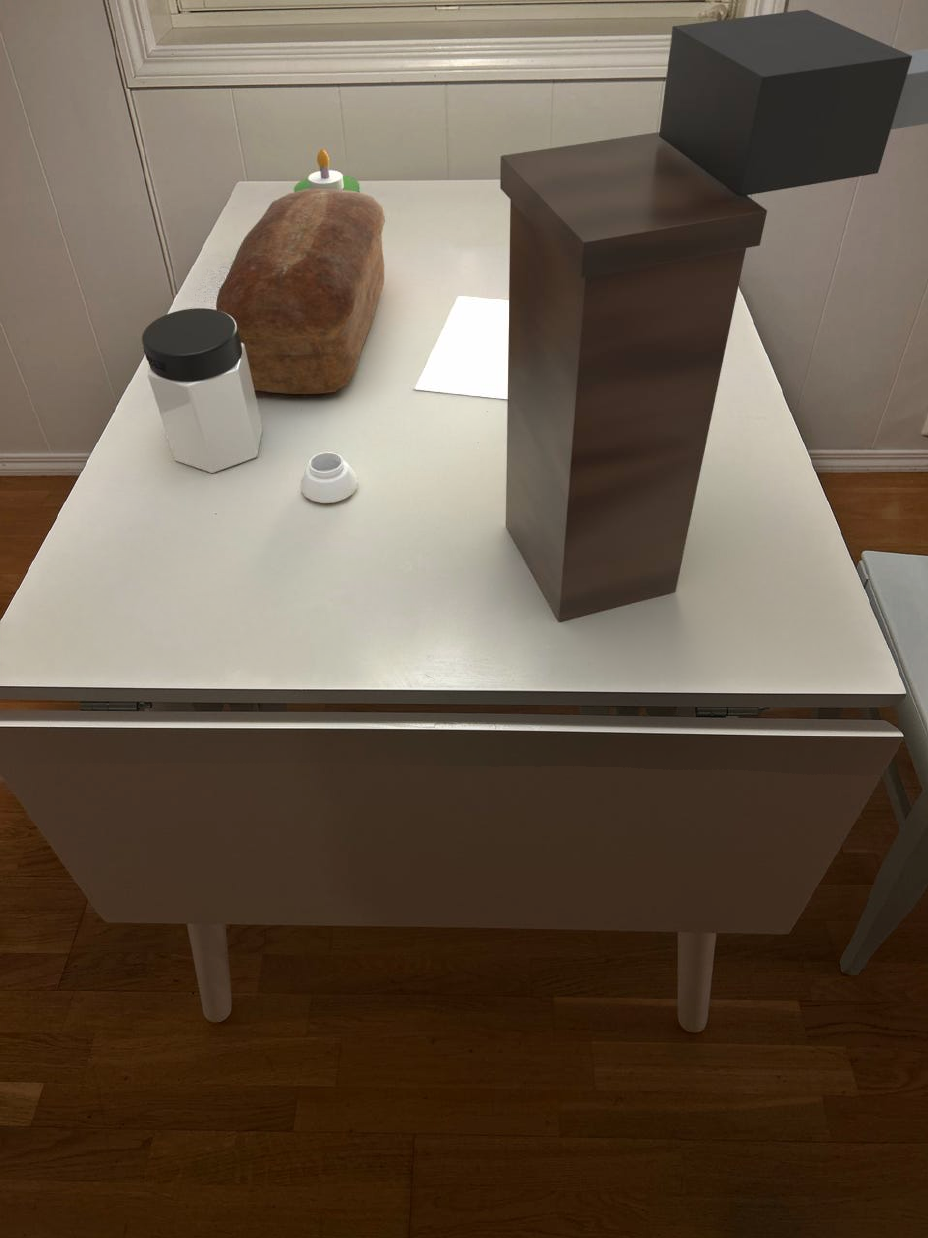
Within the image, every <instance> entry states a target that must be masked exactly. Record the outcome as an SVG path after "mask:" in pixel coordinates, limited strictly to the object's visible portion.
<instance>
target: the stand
mask: <svg viewBox="0 0 928 1238" xmlns="http://www.w3.org/2000/svg"><path fill="white" fill-rule="evenodd" d="M659 132H660V131H657V132H651V133H650V132H649V133H643V134H637V135H631V136H625V137H624V136H623V137H617V138H610V139H605V140H604V139H603V140H597V141H591V142H590V141H589V142H584V143H577V144H571V145H563V146H557V147H551V148H543V149H536V150H529V151H524V152H516V153H509V154H503V155H500V177H499V184H500V185H499V187H500V190H501V191H502V192H503V194H504V195H506V196H507V197H508V199H509V200H510V201H509V205H510V206H509V207H510V208H509V212H510V213H509V263H508V264H509V267H508V269H509V272H508V273H509V274H508V278H509V279H508V301H509V332H508V399H507V400H506V401H507V403H506V405H507V407H506V408H507V411H506V412H507V413H506V414H507V415H506V471H505V472H506V473H505V474H506V479H505V480H506V481H505V527H506V529H507V531H508V533H509V535H510V537H511V538H512V540H513V542H514V544H515V545H516V547H517V549H518V551H519V553H520V555H521V556H522V558H523V560H524V562H525V564H526V565H527V567H528V569H529V571H530V572H531V575H532V576H533V579H534V580H535V581H536V584H537V585H538V587H539V589H540V591H541V592H542V594H543V596H544V598H545V600H546V602H547V603H548V605H549V607H550V609H551V611H552V612H553V615H554V616H555V618H556V619H557V621H558V623H560V622H565V621H568V620H573V619H576V618H581V617H583V616H589V615H591V614H596V613H599V612H604V611H607V610H611V609H614V608H618V607H622V606H625V605H626V606H627V605H631V604H633V603H638V602H641V601H645V600H649V599H653V598H656V597H660V596H664V595H668V594H672V593H675V592H677V588H678V587H677V586H678V583H679V577H680V573H681V568H682V562H683V558H684V553H685V547H686V545H687V539H688V533H689V529H690V523H691V518H692V515H693V510H694V506H695V505H694V504H695V501H696V495H697V489H698V485H699V480H700V476H701V470H702V465H703V461H704V456H705V451H706V446H707V442H708V437H709V432H710V427H711V421H712V417H713V412H714V406H715V403H716V398H717V392H718V387H719V384H720V378H721V373H722V368H723V364H724V358H725V354H726V349H727V344H728V339H729V334H730V330H731V324H732V319H733V316H734V309H735V305H736V299H737V295H738V291H739V286H740V281H741V276H742V271H743V266H744V261H745V257H746V252H747V249H749V248H755V247H759V246H761V242H762V237H763V234H764V227H765V223H766V219H767V215H768V210H767V209H766V208H765V207H763V206H762V205H761V204H759V203H758V202H757V201H755V200H754V199H753V198H751V197H750V196H749V195H746V196H738V195H737V194H736V193H734V192H733V191H732V190H730V189H729V188H728V187H726V186H725V185H724V184H722V183H721V182H720V181H718V180H717V179H716V178H714V177H713V176H712V175H710V174H709V173H708V172H706V171H705V170H704V169H702V168H701V167H700V166H698V165H697V164H696V163H694V162H693V161H692V160H690V159H689V158H688V157H686V156H685V155H683V154H682V153H681V152H679V151H678V150H677V149H675V148H674V147H673V146H671V145H670V144H669V143H667V142H666V141H665V140H663V139H662V138H661V137H659Z"/></svg>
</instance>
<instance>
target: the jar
mask: <svg viewBox="0 0 928 1238" xmlns="http://www.w3.org/2000/svg"><path fill="white" fill-rule="evenodd" d="M141 342H142V346H143V347H142V348H143V353H144V356H145V359H146V361H147V362H148V365H149V366H148V367H149V369H148V372H147V378H148V381H149V384H150V387H151V391H152V394H153V397H154V400H155V403H156V405H157V409H158V413H159V416H160V419H161V422H162V425H163V429H164V432H165V435H166V438H167V441H168V444H169V448H170V451H171V455H172V458H173V460H174V461H175V462H178V463H181V464H184V465H186V466H190V467H193V468H196V469H199V470H201V471H204V472H207V473H210V474H214V473H215V474H216V473H217V472H220V471H223V470H226V469H229V468H231V467H235V466H237V465H239V464H242V463H245V462H247V461H250V460H253V459H256V458H257V457H258V455H259V451H260V445H261V440H262V434H263V423H262V418H261V415H260V409H259V405H258V400H257V396H256V390H254V386H253V381H252V377H251V372H250V368H249V363H248V359H247V354H246V349H245V345H244V344H243V343H241V341H240V337H239V332H238V327H237V324H236V322H235V320H234V319H233V318H232V317H231V316H230V315H228V314H226V313H224V312H222V311H218V310H216V309H213V308H205V307H198V308H196V307H195V308H186V309H180V310H176V311H173V312H169V313H167V314H164V315H162V316H160V317H159V318H157V319H155V320H154V321H152V322H151V323H149V324H148V325H147V326H146V328H145V329H144V331H143V333H142V335H141Z"/></svg>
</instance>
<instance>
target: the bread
mask: <svg viewBox="0 0 928 1238" xmlns="http://www.w3.org/2000/svg"><path fill="white" fill-rule="evenodd" d="M385 217H386V216H385V212H384V209H383V205H381V204H380V203H379V202H378V201H377V200H376V199H375V197H373V196H371V195H368V194H365V193H363V192H361V191H360V192H354V191H348V190H338V189H305V190H301V191H297V192H294V191H293V192H289V193H287V194H285V195H284V196H281V197H280V198H277V199H276V200H273V201H272V202H271V203H270V205H269V206H268V207H267V209H266V211H264V214H263V215H262V217H261V218H260V219H259V220H258V222H256V224H255V225H254V226H253V227H252V228H251V229H250V231H248V233H247V234H246V235H245V236H244V238H243V240H242V242H241V244H240V246H239V248H238V250H237V252H236V255H235V257H234V259H233V262H232V264H231V266H230V268H229V271H228V273H227V275H226V277H225V279H224V280H223V282H222V284H221V286H220V287H219V289H218V290H219V291H218V293H217V297H216V303H215V308H216V309H215V310H218V311H222V312H224V313H226V314H228V315H230V316H231V317H232V318H233V319H234V320H235V322H236V324H237V327H238V332H239V337H240V341H241V343H243V344H244V345H245V349H246V354H247V359H248V363H249V368H250V372H251V377H252V381H253V386H254V391H259V392H266V393H271V394H272V393H273V394H283V395H284V394H286V395H317V394H318V395H320V394H329V393H335V392H337V391H338V390H339V389H341V388H342V387H345V386H346V385H347V384H348V383H349V382H350V380H351V378H353V376H354V374H355V373H356V371H357V368H358V365H359V360H360V356H361V353H362V349H363V347H364V344H365V341H366V339H367V336H368V334H369V331H370V329H371V327H372V326H371V325H372V324H373V323H372V322H373V319H374V316H375V313H376V310H377V306H378V303H379V298H380V296H381V293H382V290H383V287H384V284H385V260H384V251H383V250H384V249H383V234H382V233H383V230H384V225H385V222H386V218H385Z"/></svg>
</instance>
